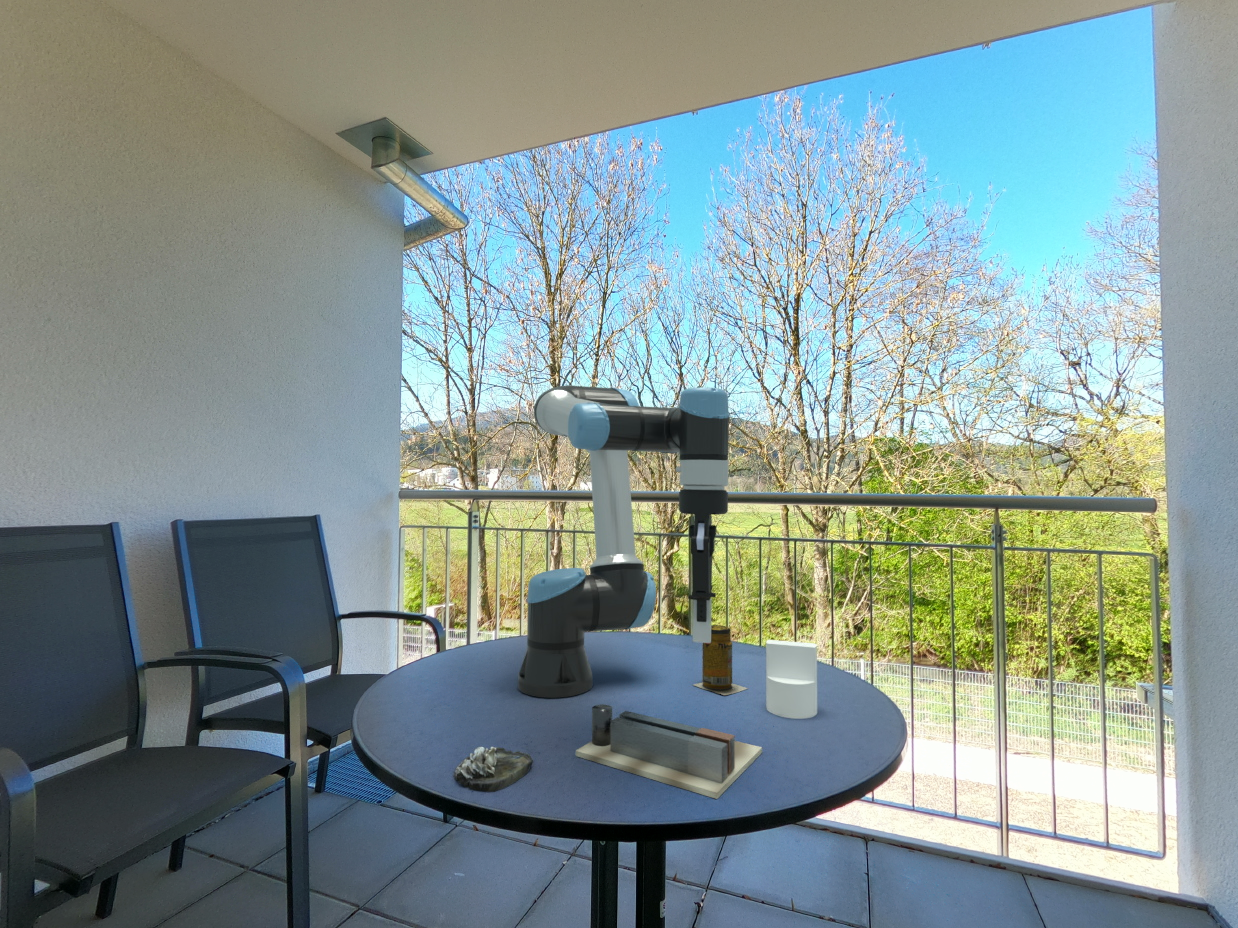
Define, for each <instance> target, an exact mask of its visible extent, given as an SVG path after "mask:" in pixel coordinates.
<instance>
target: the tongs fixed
mask: <svg viewBox="0 0 1238 928" xmlns="http://www.w3.org/2000/svg"><path fill="white" fill-rule="evenodd" d="M591 741H592V744H594V745H596V746H608V745H610V744H611V746H610V751H611V752H615V753H618V754H621V755H625V756H628V757H632V758H635V759H639V760H642V761H646V762H649V763H653V764H656V765H660V766H663V767H667V768H670V769H674V770H677V771H680V772H684V773H687V774H690V775H693V776H697V777H700V778H703V779H707V780H710V781H714V782H717V783H721V784H722V783H723V782H724V781H725V780H726V779H727V743H723V742H719V741H715V740H711V739H707V738H703V737H699V736H695V735H694V736H691V735H687V734H683V733H679V732H675V731H671V730H667V729H663V728H659V727H655V726H651V725H647V724H643V723H638V722H634V721H630V720H626V719H622V718H619V716H616V717H615V718H613V707H612V706H611V705H610V704H603V703H602V704H595V705H593V706H592V707H591Z"/></svg>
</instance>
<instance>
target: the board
mask: <svg viewBox="0 0 1238 928" xmlns="http://www.w3.org/2000/svg"><path fill="white" fill-rule="evenodd" d="M610 746H611V744H610V745H608V746H596V745H594V744H592V740H591V741H589V742H588V743H586V744H584V745H583V746H581V747H579V748H578V749H576V750H575V757H578V758H581V759H585V760H587V761H591V762H594V763H598V764H601V765H604V766H607V767H611V768H613V769H618V770H621V771H624V772H627V773H631V774H634V775H637V776H640V777H643V778H647V779H650V780H653V781H656V782H660V783H663V784H666V785H669V786H673V787H676V788H679V789H683V790H685V791H689V792H693V793H696V794H699V795H702V796H706V797H709V798H712V799H714V800H715V799H716V800H718V799H719V798H720V797H721V796H722V794H724V793H725V792H726V790H728V788H729V787H730V786H731V785H732V784H733V783H734V782H735V781H736V780H737V779H738V778H739V777H740V776H741V775H742V774H743V773H744V772H745V771H746V770H747V769H748V768H749V767H750V766H751V765H752V764H753V763H754V762H755V760H757V759H758V757H759V756H760V755H762V753H763V747H762V746H759V745H754V744H750V743H746V742H741V741H738V740H735V769H734V770H733V771H732V772H731V773H730V774H727V779H726V780H725V781H724V782H723V783H722V784H721V783H717V782H714V781H710V780H707V779H703V778H700V777H697V776H693V775H690V774H687V773H684V772H680V771H677V770H674V769H670V768H667V767H663V766H660V765H656V764H653V763H649V762H646V761H642V760H639V759H635V758H632V757H628V756H625V755H621V754H618V753H615V752H611V751H610Z"/></svg>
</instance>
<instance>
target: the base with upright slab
mask: <svg viewBox="0 0 1238 928" xmlns="http://www.w3.org/2000/svg"><path fill="white" fill-rule="evenodd" d="M817 647H818V645H817V643H813V642H812V643H811V642H801V641H800V642H799V641H790V640H789V641H787V640H778V639H767V640H766V642H765V650H766V651H765V654H766V655H765V661H766V662H765V670H766V671H765V674H766V675H765V685H766V686H765V687H766V688H765V690H766V691H765V692H766V693H765V694H766V695H765V698H766V699H765V700H766V702H765V704H766V710H767V711H768V712H769V713H771V714H773V715H776V716H778V717H781V718H785V719H786V718H787V719H792V720H794V719H796V720H798V719H799V720H803V719H805V720H806V719H811V718H813V717H815V716H817V714H818V652H817V651H818V648H817Z"/></svg>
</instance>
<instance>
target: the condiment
mask: <svg viewBox="0 0 1238 928" xmlns="http://www.w3.org/2000/svg"><path fill="white" fill-rule="evenodd" d="M731 637H732V636H731V628H730V627H729V626H726V625H719V624H711V643H702V667H701V668H702V677H701V678H702V682H698V683H694V684H693V686H695V687H698V688H700V689H702V690H706V691H710V692H712V693H715V694H718V695H720V694H721V695H723V696H729V695H733V694H736V693H739V692H741V691H745V690H748V687H745V686H742V685H738V684H736V683H735V684H734V683H733V642H732V640H731Z"/></svg>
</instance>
